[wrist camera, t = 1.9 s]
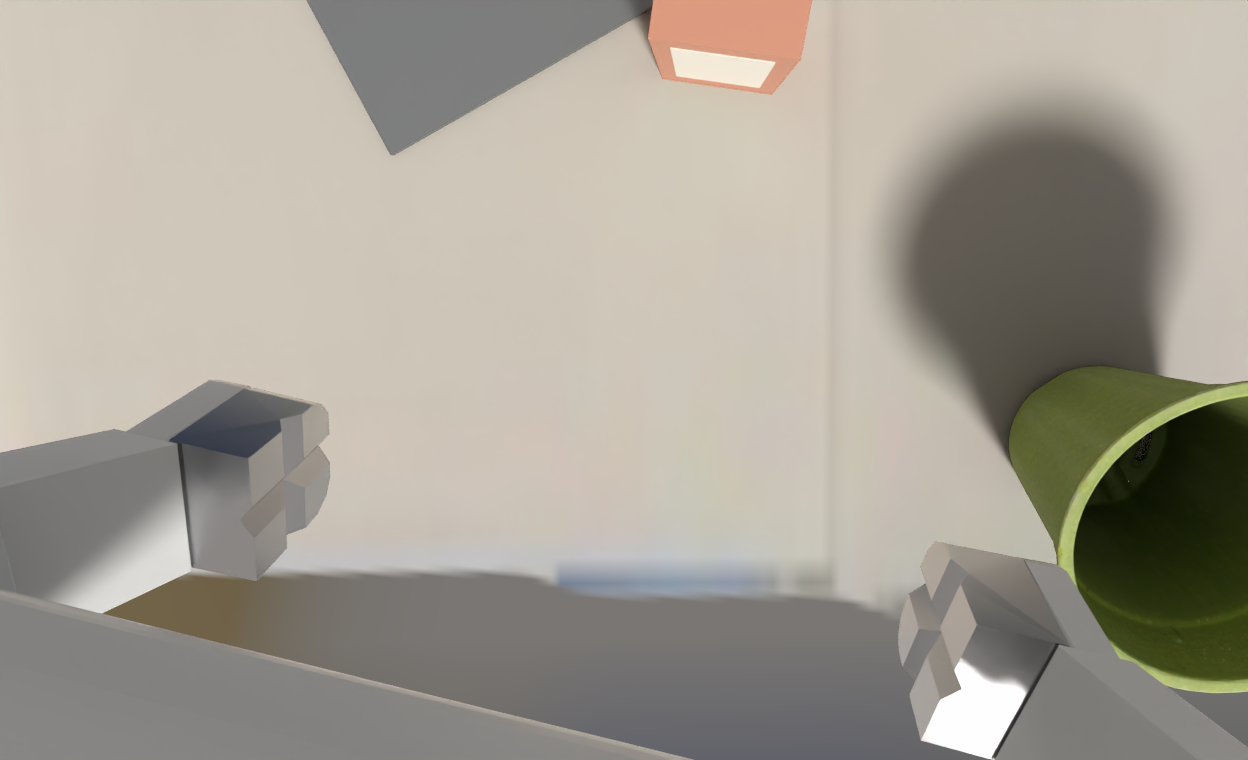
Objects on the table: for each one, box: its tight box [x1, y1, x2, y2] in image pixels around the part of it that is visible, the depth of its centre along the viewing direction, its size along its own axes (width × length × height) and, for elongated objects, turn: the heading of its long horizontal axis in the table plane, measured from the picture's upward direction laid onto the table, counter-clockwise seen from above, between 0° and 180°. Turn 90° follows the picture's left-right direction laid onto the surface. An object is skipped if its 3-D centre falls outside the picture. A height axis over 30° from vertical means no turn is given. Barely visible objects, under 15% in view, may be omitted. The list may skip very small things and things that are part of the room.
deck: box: [648, 0, 812, 95], centre depth 29 cm, size 3×5×10 cm, turn 82°
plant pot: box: [1009, 366, 1248, 693], centre depth 31 cm, size 12×12×11 cm
